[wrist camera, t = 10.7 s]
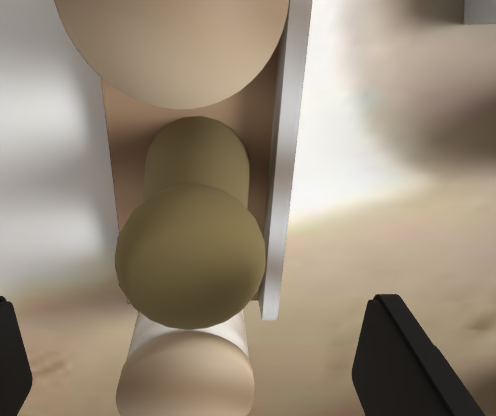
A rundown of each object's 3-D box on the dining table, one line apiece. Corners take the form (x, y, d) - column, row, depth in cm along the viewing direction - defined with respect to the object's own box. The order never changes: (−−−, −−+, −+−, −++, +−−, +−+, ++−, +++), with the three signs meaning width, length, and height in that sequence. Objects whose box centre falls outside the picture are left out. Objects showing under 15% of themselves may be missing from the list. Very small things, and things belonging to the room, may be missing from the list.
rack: (268, 298, 28) (298, 434, 19) (132, 301, 27) (92, 448, 17) (301, -55, 18) (399, -143, 9) (92, -73, 17) (-46, -193, 8)
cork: (271, 163, 22) (324, 275, 12) (205, 232, 23) (202, 382, 13) (191, 92, 19) (173, 157, 10) (123, 173, 21) (49, 300, 11)
